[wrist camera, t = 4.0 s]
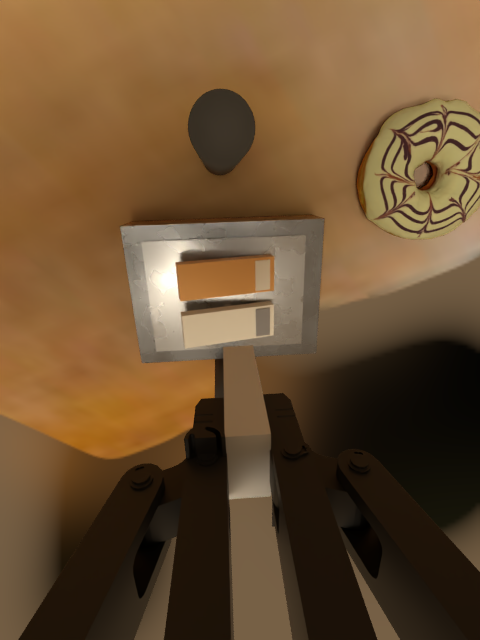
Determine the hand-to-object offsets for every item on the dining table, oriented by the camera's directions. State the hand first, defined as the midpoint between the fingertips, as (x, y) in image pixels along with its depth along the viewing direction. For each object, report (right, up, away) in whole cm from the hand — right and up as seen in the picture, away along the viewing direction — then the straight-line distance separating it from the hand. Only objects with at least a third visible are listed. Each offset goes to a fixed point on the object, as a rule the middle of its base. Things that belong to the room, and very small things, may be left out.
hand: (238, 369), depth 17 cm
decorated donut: (+15, +16, +13) cm, 25 cm away
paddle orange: (-1, +6, +9) cm, 11 cm away
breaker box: (-1, +6, +15) cm, 16 cm away
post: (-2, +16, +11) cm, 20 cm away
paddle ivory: (-1, +2, +11) cm, 11 cm away
